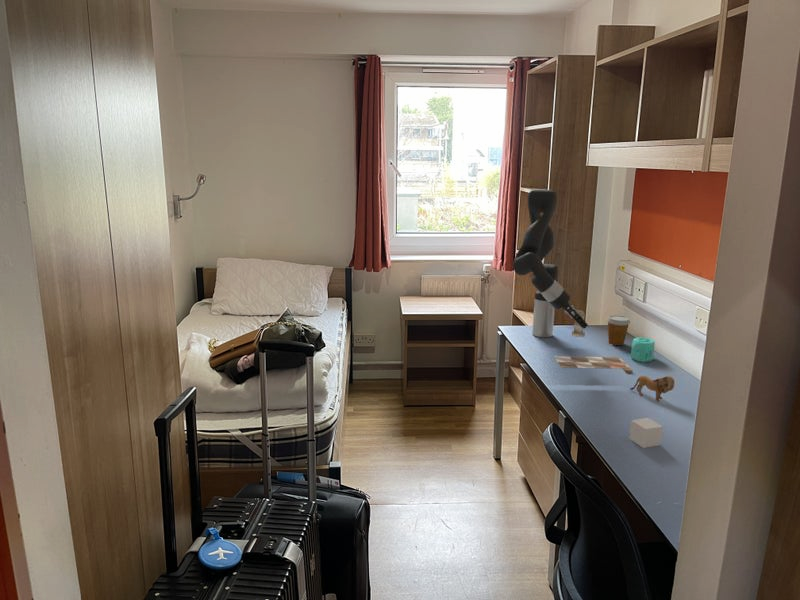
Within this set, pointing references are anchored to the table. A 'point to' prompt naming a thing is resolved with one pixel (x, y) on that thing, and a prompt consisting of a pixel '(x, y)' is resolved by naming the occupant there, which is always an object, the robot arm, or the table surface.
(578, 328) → the pawn
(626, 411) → the table surface
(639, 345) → the decorative dice
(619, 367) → the board
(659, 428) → the beige cube
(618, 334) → the disposable coffee cup
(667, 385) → the lion figurine
